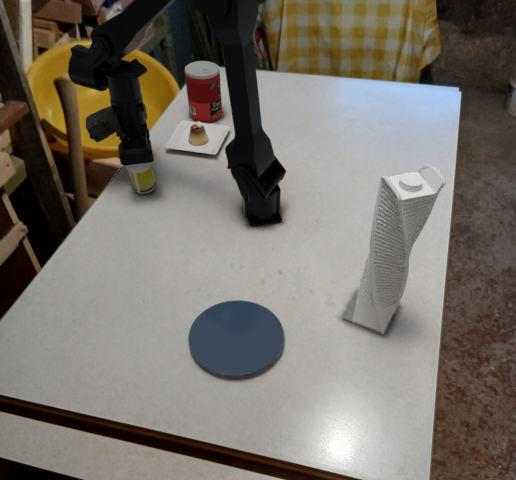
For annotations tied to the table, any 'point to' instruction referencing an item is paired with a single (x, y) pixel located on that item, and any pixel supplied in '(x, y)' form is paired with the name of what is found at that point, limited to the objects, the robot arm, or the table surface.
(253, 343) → the plate
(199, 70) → the canned food
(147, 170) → the supplement bottle
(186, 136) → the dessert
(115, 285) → the table surface
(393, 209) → the skyscraper
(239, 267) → the table surface
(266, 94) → the table surface
